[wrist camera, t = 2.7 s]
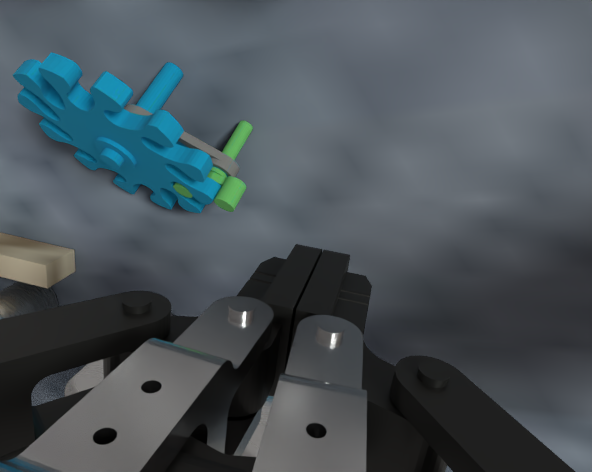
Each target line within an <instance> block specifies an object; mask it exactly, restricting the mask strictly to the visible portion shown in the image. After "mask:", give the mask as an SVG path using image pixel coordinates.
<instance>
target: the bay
mask: <svg viewBox="0 0 592 472" xmlns="http://www.w3.org/2000/svg"><path fill="white" fill-rule="evenodd" d="M74 272H75V253H74V250H73V249H69V248H64V247H60V246H56V245H52V244H47V243H43V242H39V241H34V240H30V239H26V238H22V237H17V236H13V235H9V234H4V233H0V277H4V278H8V279H12V280H16V281H20V282H24V283H28V284H31V285H35V286H39V287H43V288H47V289H48V288H49V287H51V286H53V285H54V284H56V283H57V282H59V281H61V280H62V279H64V278H66V277H67V276H69V275H70V274H72V273H74Z"/></svg>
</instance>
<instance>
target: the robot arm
mask: <svg viewBox="0 0 592 472" xmlns="http://www.w3.org/2000/svg"><path fill="white" fill-rule="evenodd" d="M349 260H350V255H348V254H343V253H338V252H333V251H328V250H324V251H323V253H322V249H318V248H313V247H308V246H303V245H298V244H296V245H295V247H294V248H293V250H292V251H291V253H290V255H289V256H288V258H287V259H281V258H277V257H273V258H271V259H269V260H266V261H264V262H262V263H261V264H260V265H259V267H258V268H257V269H256V271H255V273H253V275H252V276H251V277H250V280H248V281H247V283H246V284H245V286H244V287H243V288H242V290H241V291H240V292H239V294H238V295H237V296H231V297H226V298H222V299H219V300H217V301H215V302H214V303H213V304H212V305H211V306H210V307H209V308H208V309H207V310H206V311H205V312H204V313H203V314H202V315H201V316H200V317H185V316H171V303H170V302H169V300H168V299H167V298H165V297H164V296H162V295H160V294H157V293H153V292H148V291H130V292H124V293H119V294H115V295H110V296H106V297H101V298H96V299H92V300H87V301H83V302H78V303H73V304H69V305H64V306H60V307H55V308H50V309H46V310H41V311H36V312H32V313H27V314H23V315H18V316H13V317H9V318H4V319H0V472H445V470H446V467H447V465H448V466H449V467H450V468H451V470H452V471H453V472H575V471H574V470H573V469H572V468H570V467H569V466H568V465H567V464H566V463H565V462H564V461H562V460H561V459H560V458H559V457H558V456H557V455H555V454H554V453H553V452H552V451H551V450H550V449H549V448H547V447H546V446H545V445H544V444H543V443H542V442H540V441H539V440H538V439H537V438H536V437H535V436H534V435H532V434H531V433H530V432H529V431H528V430H527V429H526V428H524V427H523V426H522V425H521V424H520V423H519V422H517V421H516V420H515V419H514V418H513V417H512V416H511V415H509V414H508V413H507V412H506V411H505V410H504V409H502V408H501V407H500V406H499V405H498V404H497V403H496V402H494V401H493V400H492V399H491V398H490V397H489V396H488V395H486V394H485V393H484V392H483V391H482V390H481V389H479V388H478V387H477V386H476V385H475V384H474V383H473V382H471V381H470V380H469V379H468V378H467V377H466V376H464V375H463V374H462V373H461V372H460V371H459V370H457V369H456V368H455V367H453V366H451V365H450V364H448V363H446V362H444V361H441V360H439V359H435V358H432V357H427V356H409V357H406V358H403V359H401V360H400V361H399V362H398V363H397V365H396V366H394V365H391V364H389V363H387V362H385V361H383V360H381V359H380V358H378V357H377V356H375V355H374V354H373V353H372V352H371V351H370V350H369V349H368V348H367V347H366V345H365V343H364V340H363V334H364V328H365V322H366V317H367V311H368V305H369V299H370V294H371V288H372V285H371V284H370V282H369V281H368V279H367V277H366V276H363V275H359V274H354V273H349V272H347V271H348V266H349ZM102 359H103V372H104V379H103V380H102V381H101V382H100V383H99V384H98V385H97V386H96V387H93V388H90V389H87V390H84V391H81V392H77V393H74V394H71V395H68V396H65V397H62V398H59V399H56V400H53V401H50V402H47V403H44V404H41V405H37V406H32V403H31V393H32V390H33V388H34V387H35V385H36V384H37V383H38V382H39V381H40V380H42V379H43V378H45V377H47V376H49V375H52V374H55V373H58V372H62V371H65V370H68V369H72V368H75V367H79V366H82V365H85V364H89V363H92V362H95V361H99V360H102ZM268 395H269V396H273V397H274V398H273V401H272V405H271V408H270V412H269V415H268V419H267V422H266V426H265V429H264V433H263V436H262V439H261V443H260V446H259V450H258V453H257V457H249V456H242V454H243V452H244V450H245V448H246V446H247V445H248V443H249V441H250V439H251V437H252V435H253V433H254V432H255V430H256V428H257V426H258V424H259V422H260V420H261V412H262V407H263V405H264V404H265V402H266V399H267V397H268Z"/></svg>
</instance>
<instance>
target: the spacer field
mask: <svg viewBox="0 0 592 472" xmlns="http://www.w3.org/2000/svg"><path fill="white" fill-rule="evenodd" d="M55 307H58V300H57V297H56V294H55V292H54V291H53V289H52V288H51V287H49V288H48V289H47V288H43V287H39V286H35V285H31V284H28V283H24V282H20V281H18V282H16V283H14V284H12V285H10V286H9V287H7V288H5V289H3V290H1V291H0V319H4V318H9V317H13V316H18V315H23V314H27V313H32V312H36V311H41V310H46V309H50V308H55ZM171 316H175V315H173V314H172V313H171ZM103 379H104V372H103V359H102V360H99V361H95V362H92V363H89V364H87V365H86V366H84V367H83V368H82V369H81V370H80V371H79V372H78V373H77V374H76V375H75V376H74V377H72V378H71V379H70V380H69V381H68V383H67V384H66V387H65V396H68V395H71V394H74V393H77V392H81V391H84V390H87V389H90V388H93V387H96V386H97V385H98V384H99V383H100V382H101V381H102V380H103ZM273 398H274V397H273V396H269V395H268V397H267V399H266V402H265V404H264V405H263V407H262V412H261V420H260V422H259V424H258V426H257V428H256V430H255V432H254V433H253V435H252V437H251V439H250V441H249V443H248V445H247V446H246V448H245V450H244V452H243V454H242V456H249V457H257V453H258V450H259V446H260V443H261V439H262V436H263V433H264V429H265V426H266V422H267V419H268V415H269V412H270V408H271V405H272V401H273Z"/></svg>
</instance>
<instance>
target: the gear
mask: <svg viewBox="0 0 592 472" xmlns="http://www.w3.org/2000/svg"><path fill="white" fill-rule="evenodd" d="M81 76H82V71H81V69H80V67H79V66H78V65H77V64H76V63H75V62H73V61H72V60H70V59H68V58H66V57H63V56H61V55H58V54H55V53H52V52H51V53H50V55H49V56H48V57H47V58H46V59H45V60H44V62H43V63H41V62H39V61H38V60H32V59H30V60H27V61H24V63H23V64H22V65H21V66H20V67H19V68H18V69H17V71H16V72H15V73H14V74H13V77H14V78H15V79H16V80H17V81H18V82H19V83H20V84H21V85H23V86H24V88H23V90H22V91H21V92H20V93H19V94H18V101H19V103H20V104H22V105H23V106H24V107H26V108H27V109H29V110H30V111H32V112H35V113H37V114H39V115H41V116H43V117H44V118H43V120H42V121H41V122H40V123H39V125H40V127H41V128H42V130H43V131H44V132H45V133H46V134H47V136H49V137H50V138H52V139H54V140H56V141H59V142H65V143H68V144H71V145H73V146H75V147H77V148H79V149H78V150H77V152H76V153H75V154H74V157H75V158H76V159H77V160H79V161H80V162H81V163H82V164H83V165H85V166H86V167H87V168H88V169H91V170H96V169H97V168H105V169H109V170H112V171H115V172H117V173H118V174H117V176H116V177H115V179H114V180H113V182H114V183H115V184H116V185H117V186H119V187H120V188H122V189H124V190H125V191H127V192H129V193H130V194H135V192H136V191H137V189H138V188H139V186H140V185H141V184H142V185H145V186H147V187H148V188H150V189H151V190H152V191H153V193H152V194H151V196H150V199H151V200H152V201H153V202H154V203H156V204H158V205H160V206H162V207H165V208H167V209H170V210H171V209H172V207H173V206H174V204H175V203H176V201H177V199H178V203H179V205H180V206H181V207H182V208H184V209H185V210H187V211H190V212H195V213H201V211H202V210H203V208H204V206H205V205H206V204H210V203H212V201H213V200H214V202H215V203H216V205H218V206H219V207H220V208H222V209H224V210H226V211H230V212H233V211H234V209H235V207H236V206H237V204H238V202H239V200H240V199H241V197H242V195H243V193H244V191H245V190H246V185H245V184H244V183H243V182H242V181H241V180H239V179H238V178H235V177H236V175H237V173H238V172H239V166H238V164H237V163H236V162H235V161H234V160H235V158H236V157H237V155H238V153H239V152H240V150H241V148H242V147H243V145H244V143H245V141H246V140H247V138H248V136H249V135H250V133H251V131H252V130H253V127H252V126H251V124H249V123H248V122H246V121H240V123H239V124H238V126H237V128H236V129H235V131H234V132H233V134H232V136H231V137H230V139H229V141H228V142H227V144H226V146H225V147H224V149H223V151H222V152H220V151H219V150H217V149H215V148H213V147H211V146H210V145H208V144H206V143H204V142H202V141H201V140H199V139H197V138H195V137H193V136H192V135H190V134H188V133H186V132H184V130H183V128H182V127H181V125H180V124H179V123H178V122H177V121H176V119H175V118H174V117H173V116H172V115H171V114H170V113H169V112H167V111H165V110H160V109H161V108H162V106H163V105H164V103H165V102H166V100H167V99H168V97H169V96H170V95H171V93H172V92H173V90H174V89H175V87H176V86H177V85H178V83H179V82H180V80H181V79H182V77H183V73H182V71H181V69H180V68H179V67H177V66H176V65H175V64H173V63H170V62H167V63H166V64H165V65H164V66H163V68H162V69H161V71H160V72H159V73H158V75H157V76H156V77H155V79H154V80H153V82H152V83H151V84H150V86H149V87H148V89H147V90H146V91H145V93H144V94H143V96H142V97H141V98H140V100H139V101H138V102H137V104H136V105H134V104H128V105H127V106H126V107H125V105H126V104H127V103H128V101H129V100H130V98H131V97H132V96H133V91H132V89H131V88H129V87H128V86H127V85H126V84H125V83H123V82H122V81H121V80H119V79H118V78H116V77H115V76H113V75H112V74H110V73H109V72H107V71H105V72H103V73H102V74H101V76H100V77H99V78H98V79H97V81H96V82H95V83H94V84H93V86H92V87H91V88H90V92H91V94H92V95H91V94H90V93H88V92H87V91H86V90H84V89H83V88H82V87H81V86H80V84H79V82H78V80H79V79H80V78H81ZM124 107H125V108H124ZM220 188H221V189H220ZM217 193H218V194H217ZM216 195H217V196H216ZM214 198H215V199H214Z"/></svg>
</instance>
